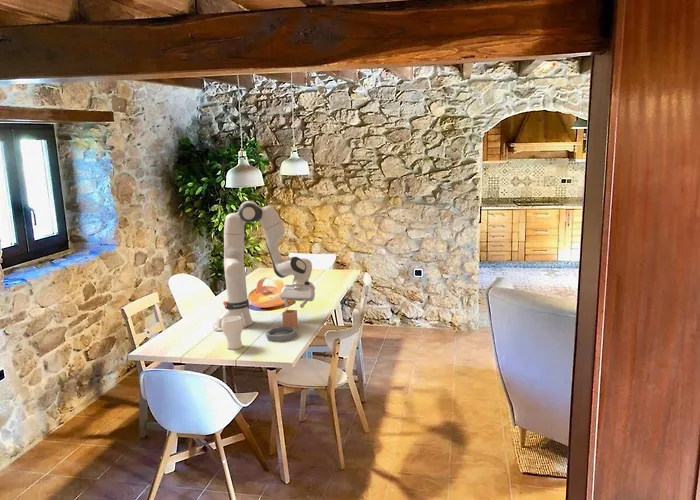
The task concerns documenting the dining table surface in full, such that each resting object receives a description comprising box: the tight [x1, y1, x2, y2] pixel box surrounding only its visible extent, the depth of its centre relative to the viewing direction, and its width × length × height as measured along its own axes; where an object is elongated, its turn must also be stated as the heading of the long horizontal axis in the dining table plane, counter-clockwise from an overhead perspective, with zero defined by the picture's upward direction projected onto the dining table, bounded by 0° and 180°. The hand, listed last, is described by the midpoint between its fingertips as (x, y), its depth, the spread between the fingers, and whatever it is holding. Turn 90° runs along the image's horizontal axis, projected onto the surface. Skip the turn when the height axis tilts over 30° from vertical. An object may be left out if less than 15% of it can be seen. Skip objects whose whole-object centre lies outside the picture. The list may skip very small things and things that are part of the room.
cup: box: [221, 316, 244, 350], centre depth 293 cm, size 11×11×15 cm
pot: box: [281, 309, 299, 329], centre depth 318 cm, size 6×6×9 cm
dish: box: [265, 325, 298, 343], centre depth 304 cm, size 15×15×3 cm
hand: (294, 306), depth 323 cm, fingers open, 8 cm apart
